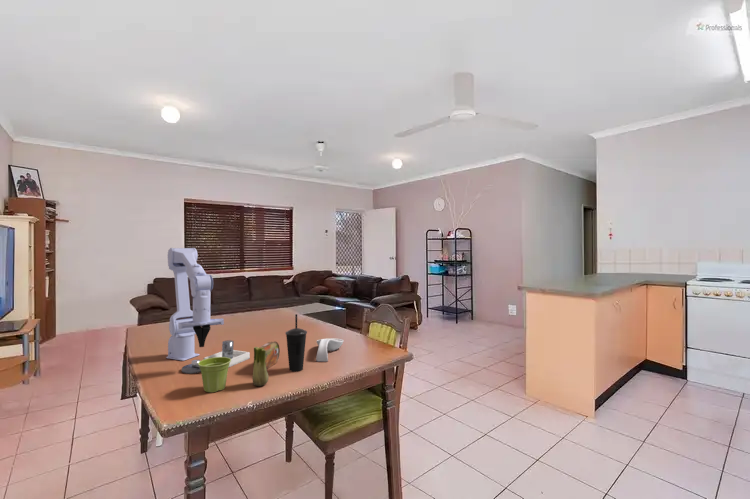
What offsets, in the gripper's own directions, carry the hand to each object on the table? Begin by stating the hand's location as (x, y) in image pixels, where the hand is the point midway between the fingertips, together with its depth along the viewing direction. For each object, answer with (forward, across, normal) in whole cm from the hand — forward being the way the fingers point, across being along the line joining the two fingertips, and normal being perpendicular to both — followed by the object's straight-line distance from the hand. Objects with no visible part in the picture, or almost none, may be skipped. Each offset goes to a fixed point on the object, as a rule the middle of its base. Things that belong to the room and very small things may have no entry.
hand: (201, 346), depth 126 cm
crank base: (+9, -2, +2) cm, 9 cm away
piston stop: (+8, +10, +6) cm, 14 cm away
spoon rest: (+9, +47, -5) cm, 49 cm away
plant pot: (+9, +1, -20) cm, 22 cm away
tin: (+9, +21, -8) cm, 24 cm away
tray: (+9, +10, +6) cm, 14 cm away
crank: (+7, 0, 0) cm, 7 cm away
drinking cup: (+9, +29, -18) cm, 35 cm away
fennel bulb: (+9, +14, -25) cm, 30 cm away
